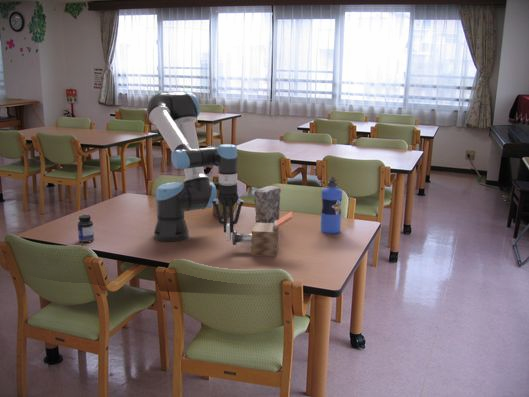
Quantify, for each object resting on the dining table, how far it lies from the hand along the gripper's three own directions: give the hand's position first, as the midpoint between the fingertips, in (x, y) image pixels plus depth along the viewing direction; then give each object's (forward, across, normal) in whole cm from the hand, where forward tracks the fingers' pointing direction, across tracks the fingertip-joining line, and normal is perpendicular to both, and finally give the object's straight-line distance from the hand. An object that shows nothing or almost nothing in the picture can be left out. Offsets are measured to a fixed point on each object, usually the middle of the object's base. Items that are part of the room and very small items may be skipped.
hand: (228, 239), depth 219 cm
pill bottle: (+4, -62, +3) cm, 63 cm away
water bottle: (+4, +42, +31) cm, 52 cm away
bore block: (+4, +15, +1) cm, 16 cm away
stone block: (+4, +13, +28) cm, 31 cm away
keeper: (-8, +23, +1) cm, 24 cm away
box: (+4, -12, +58) cm, 59 cm away
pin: (+2, +10, +1) cm, 11 cm away
